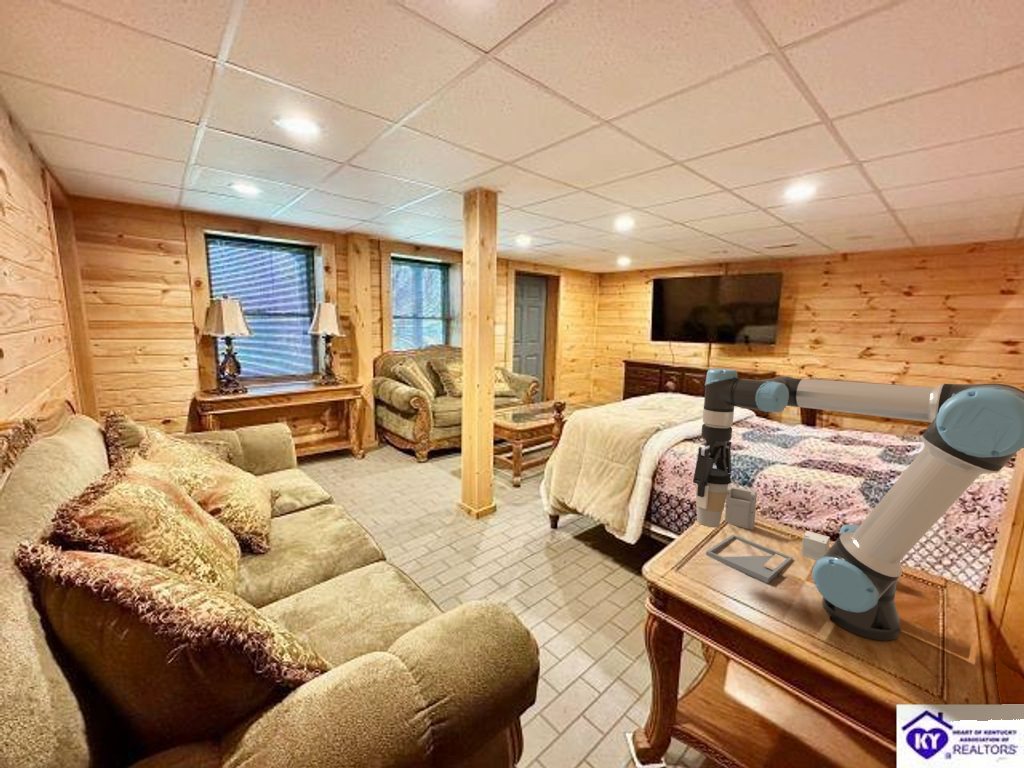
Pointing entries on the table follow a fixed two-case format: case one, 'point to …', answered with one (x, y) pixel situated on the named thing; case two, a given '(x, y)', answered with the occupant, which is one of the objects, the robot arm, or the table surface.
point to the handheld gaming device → (740, 507)
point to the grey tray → (750, 561)
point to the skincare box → (814, 545)
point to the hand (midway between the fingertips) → (710, 502)
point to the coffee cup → (714, 499)
